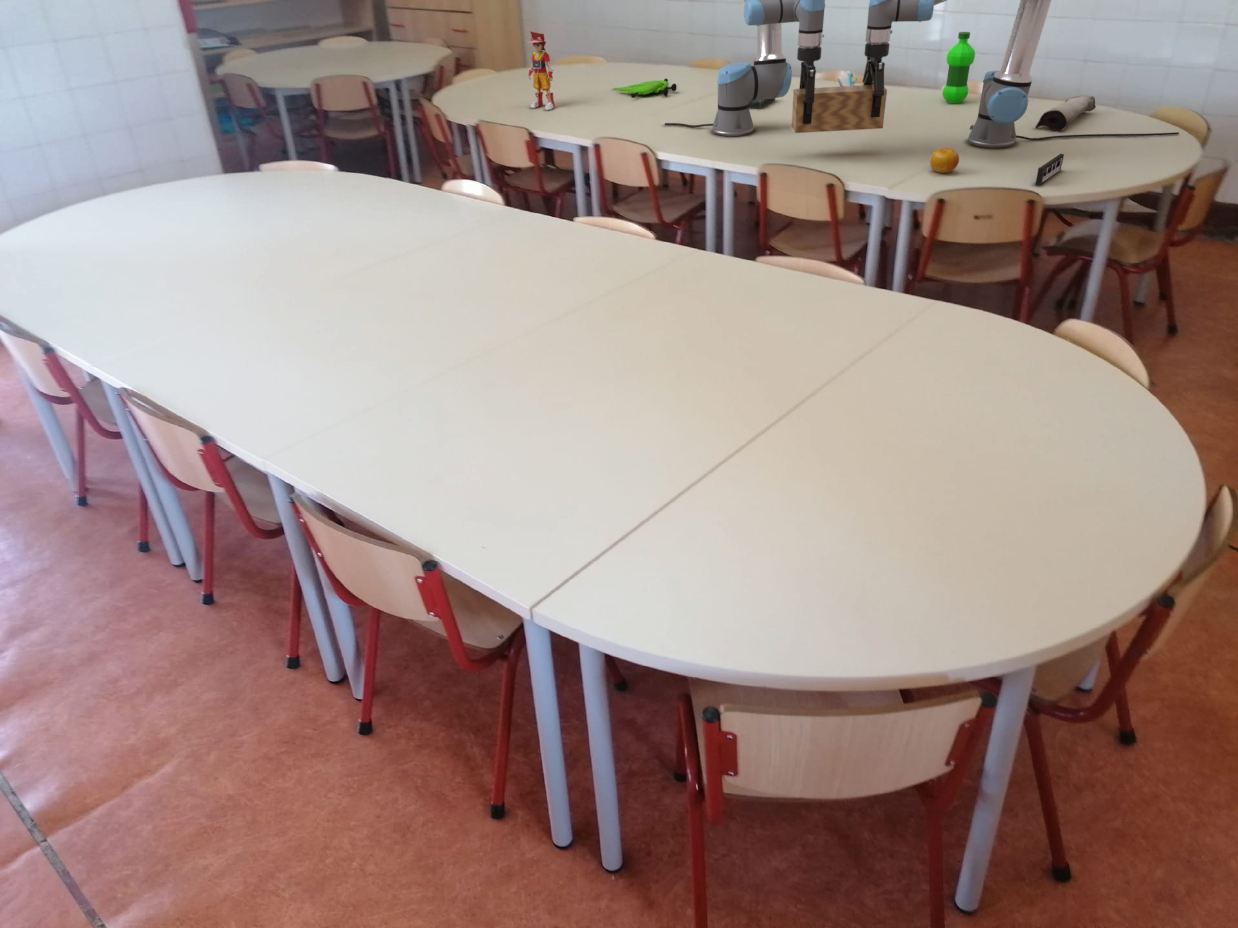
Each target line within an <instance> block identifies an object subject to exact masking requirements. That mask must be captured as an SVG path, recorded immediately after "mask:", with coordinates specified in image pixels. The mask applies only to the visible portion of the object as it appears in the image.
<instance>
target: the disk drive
mask: <svg viewBox="0 0 1238 928" xmlns="http://www.w3.org/2000/svg"><path fill="white" fill-rule="evenodd" d="M775 101H776V98H775V99H762V100H751V101H749V109H750V108H751V109H763V108H764V107H766V106H767V105H769V104H771V103H773V102H775Z"/></svg>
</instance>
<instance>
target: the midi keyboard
mask: <svg viewBox="0 0 1238 928" xmlns="http://www.w3.org/2000/svg"><path fill="white" fill-rule="evenodd" d="M1064 157H1065V153H1059V154H1058V155H1056V156H1055V157H1052V159H1051V160H1049V161H1047V162H1045V164H1042V165H1041V166H1039V167H1038V169H1037V175H1036V179H1035V186H1040V185H1042V183H1044V182H1045V181H1047V180H1048V179H1049V178H1051V177H1052V176H1054V175H1055V174H1056V173H1058V172H1060V171H1061V170H1062V165H1063V161H1064Z"/></svg>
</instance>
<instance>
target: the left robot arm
mask: <svg viewBox="0 0 1238 928" xmlns="http://www.w3.org/2000/svg"><path fill="white" fill-rule="evenodd" d="M743 2H744V6H743V18H744V23H745V24H746V25H747V26H756V28H757V30H756V31H757V55H756V57H755V58H754V60H753V65H751V63H750V62H748V61H736V62H732V63H727V64H726V65H723V66H722V67H720V69H719V70H718V75H717V111H716V114H715V118H714V120H713V123H703V124H687V123H681V122H677V123H676V122H665V123H664V126H683V127H687V128H701V127H712V133H713V134H715V135H717V136H721V137H741V136H746V135H750V134H752V133H754V122H753V118H752V115H751V111H750V108H749V101H751V100H762V99H775V100H776V99H779V98H784V97H785V96H786V95H787V94H788V93H789V90H790V88H791V85H792V79H793V78H792V77H793V70H792V65H791V63H789V62H788V61H787V57H786V56H785V54H783V51H782V49H783V47H782V46H783V45H782V43H783V41H782V40H783V39H782V35H783V33H782V24H786V23H787V24H788V23H798V35H797V46H798V48H797V55H796V59H797V61H799V62H800V78H799V88H798V89H805V101H803V104H804V111H803V124H811V120H812V105H813V103H814V92H815V88H816V73H817V70H816V66H815V62H816V61H817V62H818V61H820V60H821V58H822V49H823V48H822V47H821V46H822V43H823V38H824V37H825V34H823V32H824V22H825V21H824V20H825V8H826V0H743ZM809 98H811V99H809Z"/></svg>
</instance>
